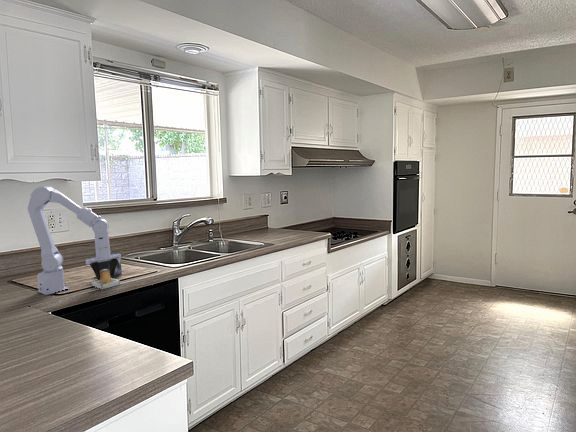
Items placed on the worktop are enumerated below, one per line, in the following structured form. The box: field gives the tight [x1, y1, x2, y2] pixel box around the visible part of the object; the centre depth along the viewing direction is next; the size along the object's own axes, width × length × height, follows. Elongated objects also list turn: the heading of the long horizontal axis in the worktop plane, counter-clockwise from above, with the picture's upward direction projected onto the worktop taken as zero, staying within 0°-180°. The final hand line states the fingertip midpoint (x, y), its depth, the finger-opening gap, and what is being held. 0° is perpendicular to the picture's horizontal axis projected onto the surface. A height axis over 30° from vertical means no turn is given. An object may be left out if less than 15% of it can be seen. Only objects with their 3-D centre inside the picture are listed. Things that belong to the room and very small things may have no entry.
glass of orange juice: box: [100, 269, 111, 284], centre depth 189 cm, size 4×4×6 cm
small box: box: [98, 252, 123, 279], centre depth 203 cm, size 11×6×10 cm, turn 167°
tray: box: [91, 278, 121, 290], centre depth 189 cm, size 8×8×2 cm
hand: (105, 277), depth 189 cm, fingers open, 5 cm apart
